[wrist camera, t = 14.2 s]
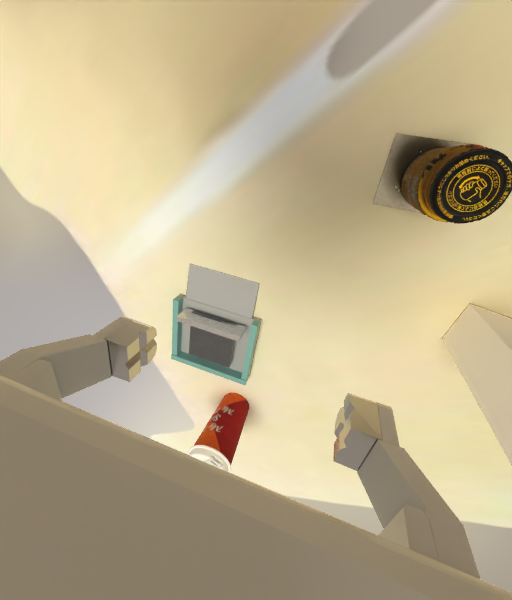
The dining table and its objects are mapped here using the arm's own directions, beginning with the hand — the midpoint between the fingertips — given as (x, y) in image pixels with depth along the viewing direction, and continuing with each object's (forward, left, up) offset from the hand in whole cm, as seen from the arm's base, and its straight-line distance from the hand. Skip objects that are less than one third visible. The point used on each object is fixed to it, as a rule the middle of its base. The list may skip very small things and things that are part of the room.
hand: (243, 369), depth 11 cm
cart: (+22, -12, -28) cm, 38 cm away
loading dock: (+20, -12, -30) cm, 38 cm away
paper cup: (+38, -6, -29) cm, 48 cm away
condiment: (-8, +10, -29) cm, 32 cm away
